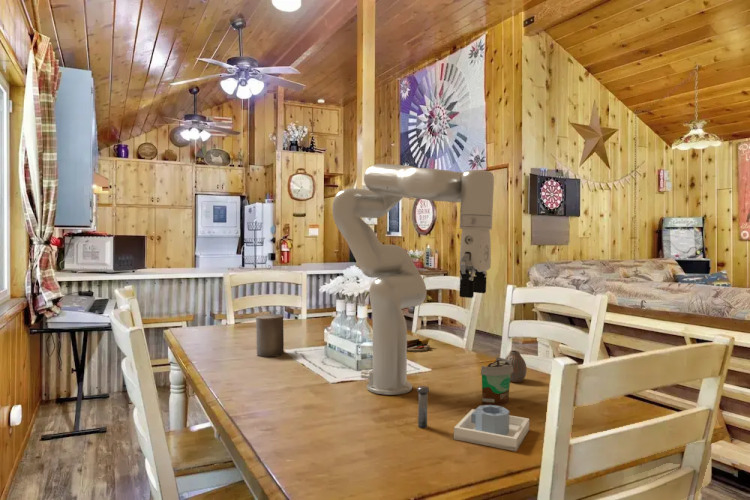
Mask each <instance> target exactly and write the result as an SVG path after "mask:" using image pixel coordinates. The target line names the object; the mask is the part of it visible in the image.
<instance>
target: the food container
mask: <svg viewBox="0 0 750 500" xmlns="http://www.w3.org/2000/svg"><path fill="white" fill-rule="evenodd" d="M495 359H496V360H495V361H494V362H490V363H488V365H487V366H486V365H485V366H484V365H482V366H481V369H480V376H481V392H482V396H481V399H482V403H481V404H482V405H483V406H484V405H495V406H502V405H506V404H508V402H509V398H510V397H509V396H510V384H511V382H510V375H511V373H512V372H513V366H512V364H511V362H510V361H509V360H507V359H506V358H503V357H497V356H496V357H495Z"/></svg>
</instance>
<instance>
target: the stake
mask: <svg viewBox="0 0 750 500" xmlns="http://www.w3.org/2000/svg"><path fill="white" fill-rule="evenodd" d="M416 391H417V393H418V396H417V397H418V406H417V408H418V409H417V412H418V413H417V415H418V416H417V422H418V423H417V427H418V428H420V429H427V428H428V393H429V391H430V388H429V387H428V386H425V385H419V386H417V388H416Z"/></svg>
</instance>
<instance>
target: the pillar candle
mask: <svg viewBox="0 0 750 500" xmlns="http://www.w3.org/2000/svg"><path fill="white" fill-rule="evenodd" d="M255 319H256V320H255V321H256V322H255V324H256V327H255V329H256V332H255V333H256V339H255V340H256V342H255V343H256V355H257V356H258V357H262V358H263V357H264V358H266V357H267V358H270V357H278V356H282V355H284V353H285V351H284V346H285V343H284V340H285V339H284V315H282V314H280V313H279V314H278V313H277V314H276V313H274V314H273V313H267V314H260V315H257V316H255Z"/></svg>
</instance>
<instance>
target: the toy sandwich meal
mask: <svg viewBox="0 0 750 500" xmlns="http://www.w3.org/2000/svg"><path fill="white" fill-rule="evenodd" d="M429 341H430V338H426V339H420V338H419V337H417V336H413V335H410V334H408V333H407V352H410V353H412V352H415V353H417V352H419V353H420V352H425V351H428V350H429V349H430V348H431V346H430V345H429Z"/></svg>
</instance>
